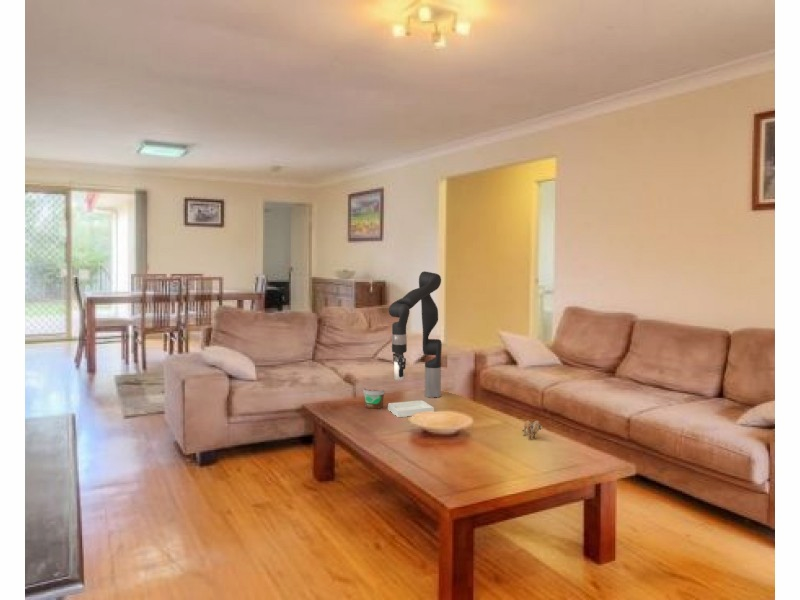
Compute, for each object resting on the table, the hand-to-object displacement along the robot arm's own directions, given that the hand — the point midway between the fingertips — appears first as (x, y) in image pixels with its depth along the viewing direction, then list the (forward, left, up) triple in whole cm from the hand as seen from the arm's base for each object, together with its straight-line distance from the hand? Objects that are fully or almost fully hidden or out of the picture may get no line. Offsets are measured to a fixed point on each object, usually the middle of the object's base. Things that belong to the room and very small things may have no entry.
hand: (399, 375), depth 284 cm
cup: (0, 0, -2) cm, 2 cm away
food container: (-15, -10, -21) cm, 27 cm away
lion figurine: (+54, +44, -21) cm, 72 cm away
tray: (-2, +7, -20) cm, 22 cm away
